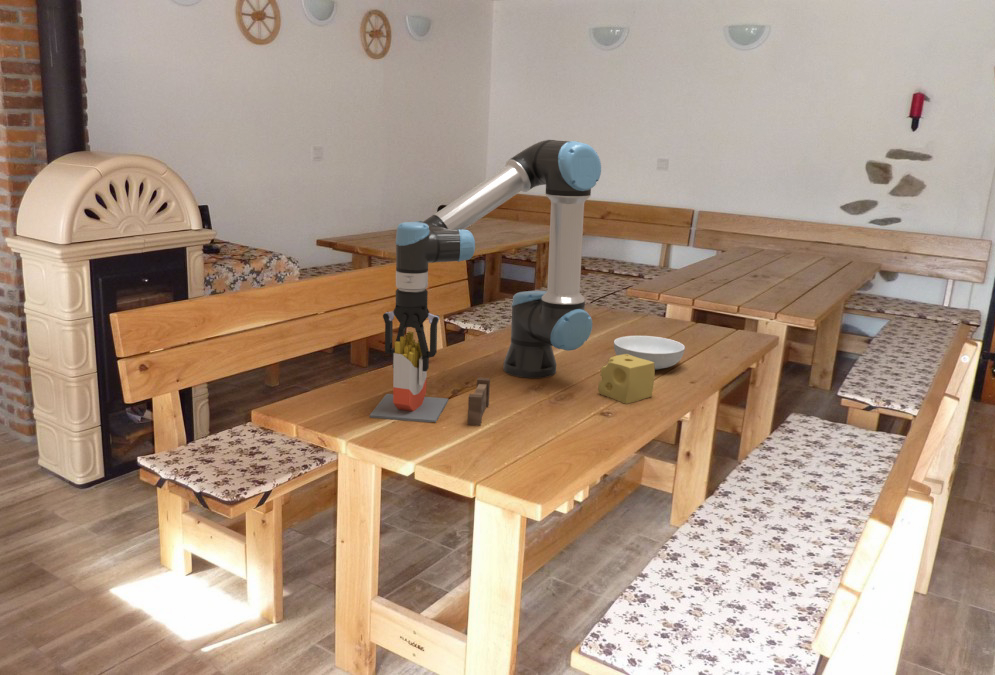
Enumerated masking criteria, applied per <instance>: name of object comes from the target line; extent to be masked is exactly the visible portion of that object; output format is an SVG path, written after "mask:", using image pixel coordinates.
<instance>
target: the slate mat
mask: <svg viewBox="0 0 995 675" xmlns="http://www.w3.org/2000/svg"><path fill="white" fill-rule="evenodd" d="M448 402H449V398H446V397H444V398H443V397H432V396H425V397H424V400H423V403H422V405H421V406H420V407H418V408H417V409H416V410H415V411H407V410H401V409H397V407H396V406H395V405H394V403H393V393H386V394H385V395H384V397H383V398H382V399H381V401H379V403H378V404H377V405H376V407H374V409H373V410H372V412H370V414H369V418H370V419H371V418H373V419H382V418H383V419H384V420H396V421H409V422H421V423H430V422H435V423H434V424H436V423H437V422H436V421H439V418H440V417H439V416H441V415H442V413H443V411H444V409H445V407H446V405H447V404H448ZM440 414H441V415H440Z"/></svg>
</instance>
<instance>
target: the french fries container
mask: <svg viewBox="0 0 995 675" xmlns="http://www.w3.org/2000/svg"><path fill="white" fill-rule="evenodd" d="M394 346H395V353H394V359H393V358H392V368H393V375H392V376H393V378H392V379H393V385H392V386H393V387H392V390H393V392H392V394H393V403H394V405H395V406H396V407H397V409H401V410H407V411H415V410H416V409H417V408H418V407H420V406H421V405H422V403H423V400H424V397H426V393H427V385H428V384H427V382H428V380H427V376H428V375H427V374H428V373H427V371H428V370H427V371H424V383H423V384H422V385H419V359H420V358H421V356H422V353H421V349H420V345H419V340H418V339H417V342H416V339H414V332H413V331H407V332H406V334H405V336H404V337H403V336H401V337H400V342H398V341H396V340H395V341H394Z"/></svg>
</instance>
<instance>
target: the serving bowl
mask: <svg viewBox="0 0 995 675" xmlns="http://www.w3.org/2000/svg"><path fill="white" fill-rule="evenodd" d="M613 350H614V352H615V356H617V355H622V354H629V355H632V356H634V357H638V358H641V359H645V360H648V361H651V362H654V367H655V371H656V370H662V369H667V368H670V367H673V366H675V365H676V364H678V363H679V362H680V361H681V359H682V358H683V356H684V354H685V350H686V347H685V345H684V344H683V343H682V342H679V341H676V340H673V339H671V338H665V337H660V336H652V335H627V336H626V335H625V336H620V337H617V338H615V339H614V341H613Z"/></svg>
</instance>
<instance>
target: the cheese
mask: <svg viewBox="0 0 995 675" xmlns="http://www.w3.org/2000/svg"><path fill="white" fill-rule="evenodd" d="M655 372H656V370H655V367H654V362H651V361H648V360H645V359H641V358H638V357H634V356H632V355H629V354H622V355H614V356H611V357H610V358H609V359H608V362H607V364H606V365H604V366H602V367H601V370H600V377H601V380H600V381H599V382H598V388H597V389H598V390H597V391H598V394H599V395H600V394H601V396H604V397H607V398H609V399H613V400H615V401H617V402H620V403H623V404H626V405H628V404H632V403H635V402H639V401H641V400H644V399H645V400H646V399H649V398H651V397H652V394H653V390H654V383H655Z"/></svg>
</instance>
